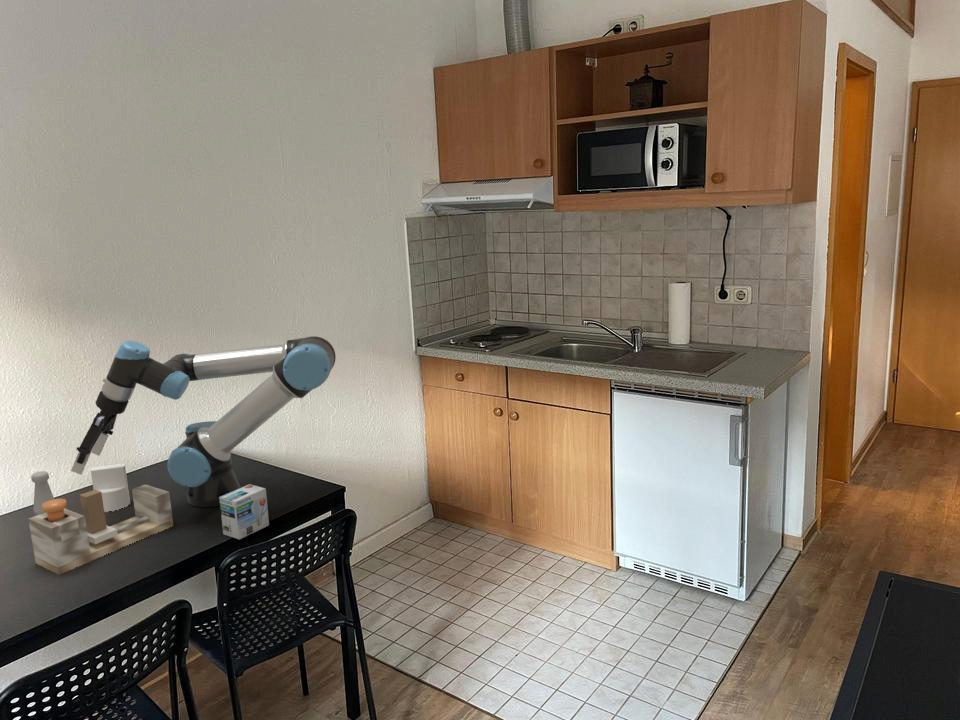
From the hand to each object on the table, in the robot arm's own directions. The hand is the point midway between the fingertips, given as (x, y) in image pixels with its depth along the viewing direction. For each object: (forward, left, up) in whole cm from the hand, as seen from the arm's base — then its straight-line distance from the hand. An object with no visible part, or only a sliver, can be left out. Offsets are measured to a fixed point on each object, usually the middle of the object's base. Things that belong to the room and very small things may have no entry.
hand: (85, 462), depth 207 cm
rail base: (-11, +14, -17) cm, 25 cm away
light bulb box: (-45, +5, -18) cm, 49 cm away
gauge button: (-6, +24, -7) cm, 25 cm away
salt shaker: (+17, -4, -18) cm, 25 cm away
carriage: (-10, +16, -14) cm, 23 cm away
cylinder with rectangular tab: (+1, -11, -18) cm, 21 cm away
